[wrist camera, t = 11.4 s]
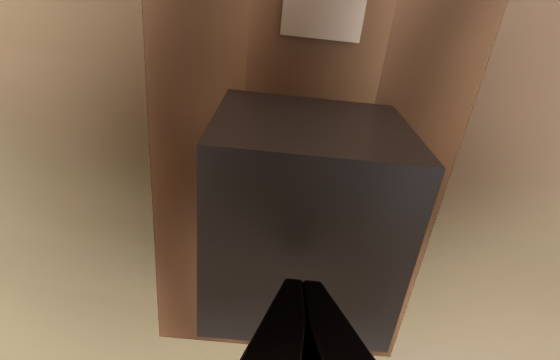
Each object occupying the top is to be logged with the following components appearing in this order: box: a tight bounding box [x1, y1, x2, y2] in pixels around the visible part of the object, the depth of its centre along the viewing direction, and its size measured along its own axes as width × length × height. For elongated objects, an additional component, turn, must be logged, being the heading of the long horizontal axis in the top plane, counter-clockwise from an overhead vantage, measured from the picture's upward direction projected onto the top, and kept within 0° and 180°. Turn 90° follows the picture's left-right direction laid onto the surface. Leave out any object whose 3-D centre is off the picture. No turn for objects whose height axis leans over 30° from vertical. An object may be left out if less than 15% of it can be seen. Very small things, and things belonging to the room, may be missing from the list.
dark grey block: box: [197, 89, 446, 353], centre depth 13 cm, size 6×6×7 cm
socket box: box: [142, 0, 508, 357], centre depth 16 cm, size 11×18×4 cm, turn 174°
